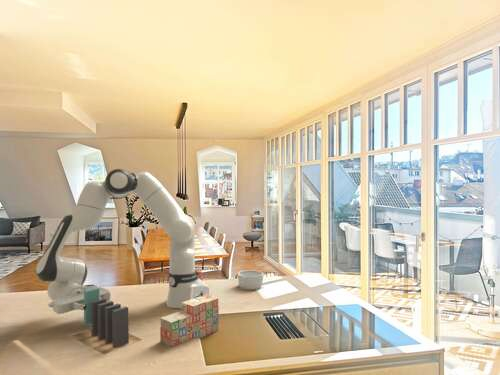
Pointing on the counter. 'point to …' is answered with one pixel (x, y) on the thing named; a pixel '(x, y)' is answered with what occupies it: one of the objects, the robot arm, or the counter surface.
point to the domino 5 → (120, 327)
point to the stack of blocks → (190, 321)
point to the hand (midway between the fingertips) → (93, 305)
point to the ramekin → (250, 279)
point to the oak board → (101, 341)
